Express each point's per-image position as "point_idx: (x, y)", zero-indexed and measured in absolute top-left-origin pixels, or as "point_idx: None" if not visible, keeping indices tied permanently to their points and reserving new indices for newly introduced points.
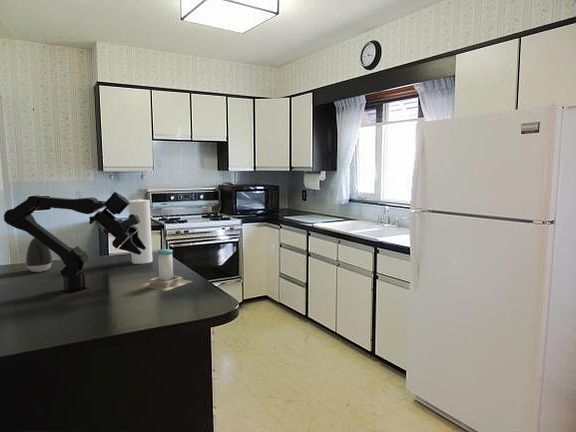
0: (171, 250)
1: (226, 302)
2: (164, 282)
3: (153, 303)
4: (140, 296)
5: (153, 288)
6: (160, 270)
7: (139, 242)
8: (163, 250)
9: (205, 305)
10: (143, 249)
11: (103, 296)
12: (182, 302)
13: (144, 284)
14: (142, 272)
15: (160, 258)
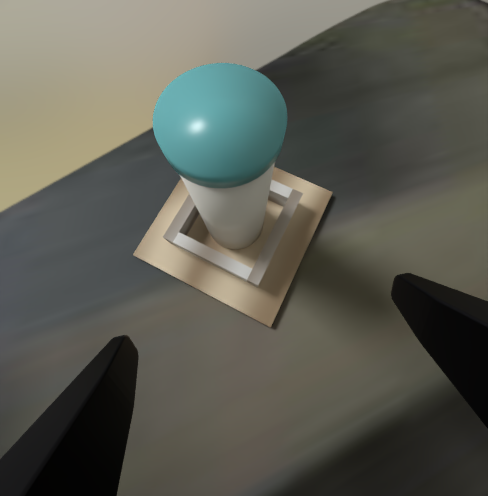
0: (215, 70)
1: (399, 13)
2: (297, 201)
3: (455, 195)
4: (392, 270)
5: (305, 250)
6: (263, 212)
7: (72, 467)
8: (214, 129)
9: (435, 53)
10: (137, 360)
11: (421, 439)
12: (424, 114)
13: (251, 311)
14: (8, 424)
15: (271, 171)
